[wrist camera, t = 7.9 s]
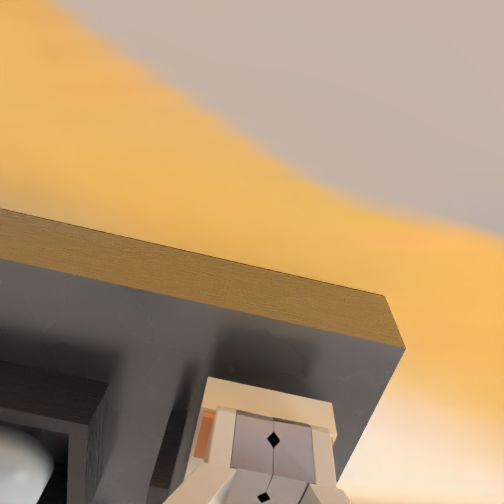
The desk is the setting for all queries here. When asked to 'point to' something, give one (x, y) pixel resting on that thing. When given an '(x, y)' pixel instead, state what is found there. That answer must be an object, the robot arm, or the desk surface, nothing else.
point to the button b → (22, 466)
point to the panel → (165, 352)
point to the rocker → (254, 411)
